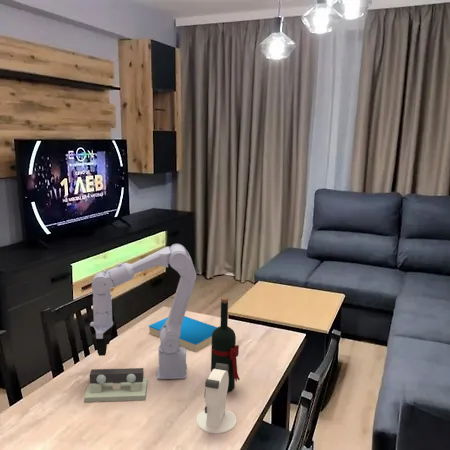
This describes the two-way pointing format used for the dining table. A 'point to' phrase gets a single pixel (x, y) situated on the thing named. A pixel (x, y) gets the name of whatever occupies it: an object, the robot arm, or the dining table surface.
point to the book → (189, 333)
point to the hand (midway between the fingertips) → (104, 349)
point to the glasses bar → (116, 375)
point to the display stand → (116, 391)
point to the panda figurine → (216, 403)
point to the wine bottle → (225, 346)
